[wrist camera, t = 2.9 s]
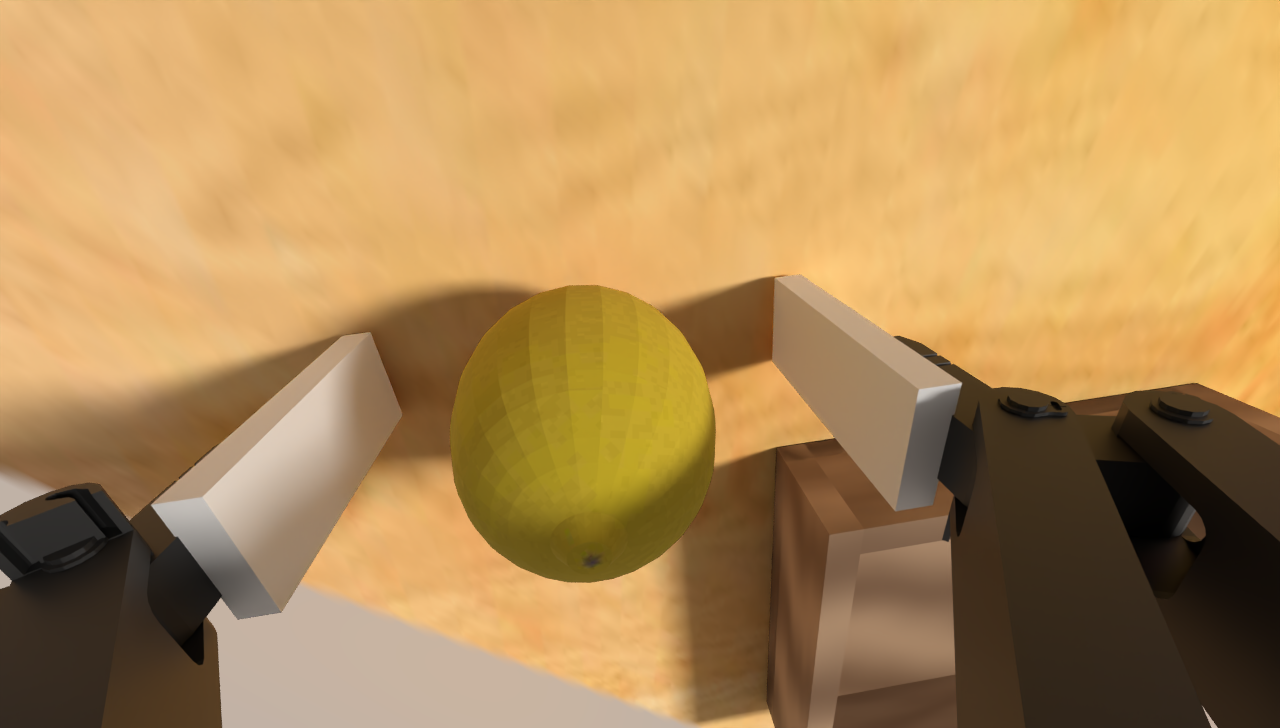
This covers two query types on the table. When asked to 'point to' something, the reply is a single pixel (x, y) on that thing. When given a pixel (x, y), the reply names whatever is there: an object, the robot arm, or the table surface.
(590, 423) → the lemon
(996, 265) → the table surface
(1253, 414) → the walnut bin
